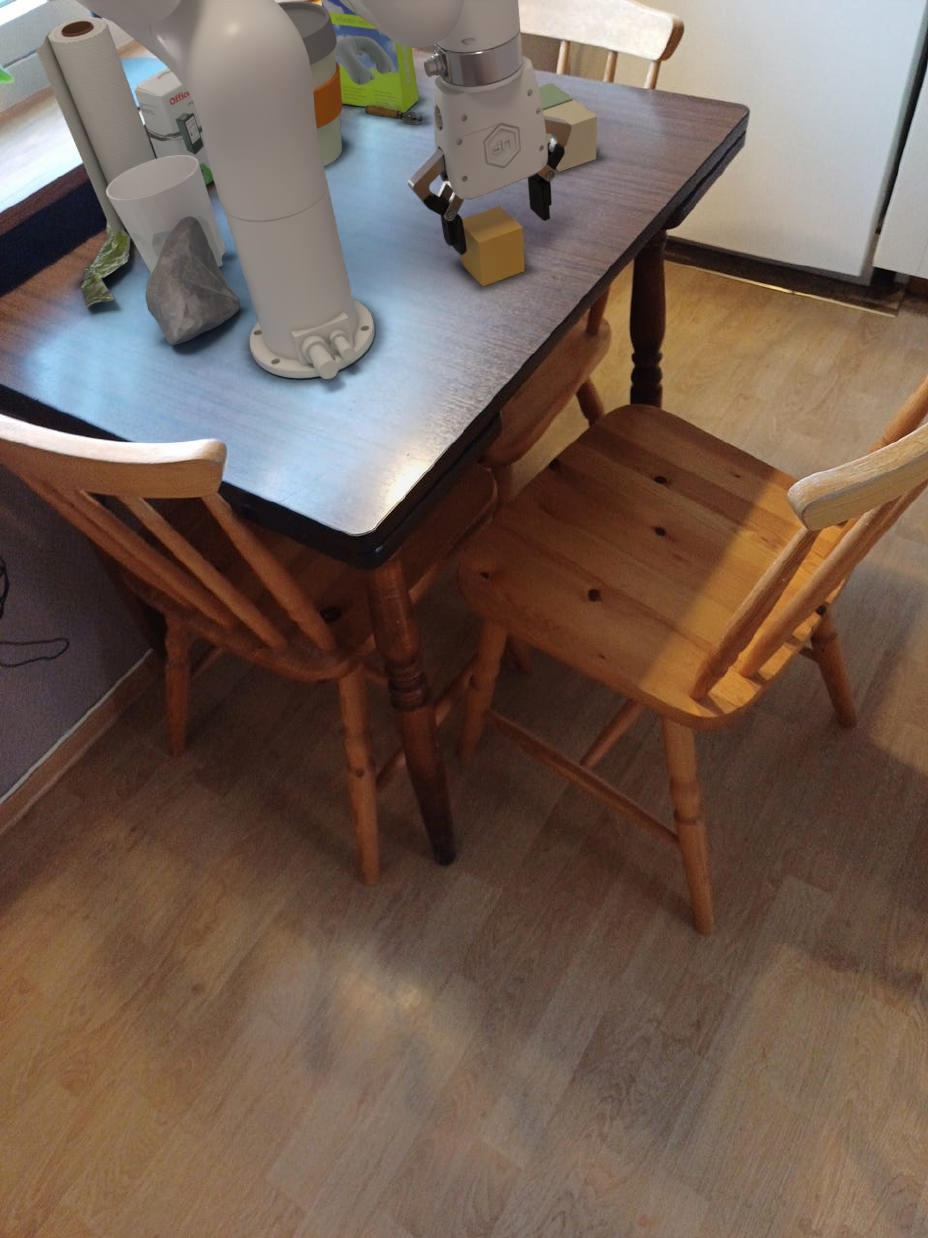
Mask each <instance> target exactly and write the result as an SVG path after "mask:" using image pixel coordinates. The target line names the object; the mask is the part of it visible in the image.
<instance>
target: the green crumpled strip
mask: <svg viewBox="0 0 928 1238" xmlns="http://www.w3.org/2000/svg"><path fill="white" fill-rule="evenodd" d="M121 224H122V223H121ZM105 229H106V237H105V238H106V239H105V242H104V243H103V245H102V247H100V250H99V251H98V253H97V255H96V258H94V259H95V260H94V261H93V263H92V264H91V265H90V266H86V267H85V269H84V270H83V274H82V277H81V280H80V281H79V284H80V286H81V287H80V288H81V291H82V297H83V300H84V304H85V308H86V309H88V308H89V307H91V306H92V305H94V304H97V303H100V302H101V303H102V302H103V303H108V302H111V301H116V299H115V297H114V296H113V295H112V293H111V290H110V289H108V287H107V285H106V284H105V282H104V281H103V278H105V277H107V276H109V275H110V274H112V273H113V272H115V271H116V270H117V269H119V268H120V267H121V266H123V265H125V264H126V263H127V262H128V260H129V258H130V257H129V256H130V254H129V253H130V248H131V247H130V246H131V244H130V243H131V239H132V238H131V236H130V234H128V232H127V231H125V230H126V229H125V230H124V229H123V228H122V225H121V226H120V229H119V231H118V234H117V236H116V238H115V237H114V235H113V233H112V230H111V228H110V225H109V223H108V221H107V220H106V228H105Z"/></svg>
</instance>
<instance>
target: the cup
mask: <svg viewBox="0 0 928 1238" xmlns="http://www.w3.org/2000/svg"><path fill="white" fill-rule="evenodd" d="M106 194H107V196H108V198H109V200H110V202H111V203H112V205H113V207H114V208H115V210H116V212H117V214H118V215H119V217H120V219H121V221H122V222H123V224H124V226H125V230H126V232H127V234H128V235H129V236H131V238H130V239H132V241H133V243H134V245H135V247H136V249H137V250H138V252H139V255H141V258H142V259H143V261H144V263H145V265H146V267H147V268H148V270H149V272H150V275H151V274H152V272H153V270H154V268H155V267H156V264H157V261H158V258H159V255H160V253H161V250H162V248H163V245H164V243H165V241H166V239H167V237H168V236H169V234H170V233H171V231H172V230H173V229H174V228H175V226H176V225H177V224H178V223H179V222H180V220H181V219H183V218H185V217H189V216H190V217H194V218H196V219H197V220H198V221H199V223H200V224H201V227H202V229H203V231H204V233H205V235H206V237H207V241H208V244H209V246H210V248H211V250H212V252H213V254H214V257H215V260H216V263H217V265H218V267H219V268H220V267H221V266H224V263H223V259H222V258H223V256H224V254H225V253H226V252H227V249H226V245H225V242H224V240H223V237H222V234H221V231H220V228H219V225H218V221H217V218H216V214H215V212H214V209H213V206H212V202H211V200H210V196H209V193H208V189H207V185H205V182H204V179H203V175H202V172H201V169H200V165H199V162H198V160H197V159H196V158H194V157H193V156H187V155H174V156H167V157H162V158H158V159H157V158H156V159H154V160H151V161H148V162H145V163H142V164H140V165H138V166H136V167H133V168H131V169H129V170H128V171H126V172H124V173H122V174H121V175H119V176H118V177H117V178H115V179H114V180H113V181H112V182H111V183H110V184H109V185H108V187H107V189H106Z"/></svg>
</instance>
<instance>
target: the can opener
mask: <svg viewBox="0 0 928 1238" xmlns="http://www.w3.org/2000/svg"><path fill="white" fill-rule="evenodd" d="M364 112H365V114H367V115H371V116H377V117H382V118H383V117H384V118H391V119H396V120H401V119H402V122H403V123H404V124H405V125H412V126H415V125H422V124H423V120H424V119H423V116H422V115H421V114H416V112H415V111H409V112H408V111H407V112H405V113H403V112H400V111H397V110H390V109H386V108H383V107H378V106H371V105H367V106H366V107H365V109H364ZM418 118H419V121H417V120H418Z"/></svg>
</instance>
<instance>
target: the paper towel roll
mask: <svg viewBox="0 0 928 1238" xmlns="http://www.w3.org/2000/svg"><path fill="white" fill-rule="evenodd" d="M35 51H36V54H37V56H38V59H39V61H40V63H41V66H42V68H43V70H44V71H43V72H44V73H45V77H46V78H47V81H48V82H49V85H50V87H51V90H52V92H53V94H54V97H55V99H56V101H57V105H58V106H59V109H60V112H61V113H62V116H63V118H64V121H65V123H66V126H67V128H68V130H69V132H70V135H71V137H72V139H73V142H74V145H75V147H76V149H77V151H78V154H79V157H80V159H81V161H82V164H83V166H84V168H85V171H86V173H87V176H88V177H89V180H90V182H91V185H92V188H93V190H94V192H95V194H96V197H97V199H98V202H99V204H100V206H101V208H102V211H103V214H104V216H105V218H106V222H107V221H108V223H109V225H110V228H111V230H112V233H113V235H114V237H115V238H116V236H117V234H118V231H119V229H120V226H121V225H122V228H123V229H124V230H126V228H125V226H124V224H123V222H122V221H121V219H120V217H119V215H118V214H117V212H116V210H115V208H114V207H113V205H112V203H111V202H110V200H109V198H108V196H107V194H106V189H107V187H108V185H109V184H110V183H111V182H112V181H113V180H114V179H115V178H117V177H118V176H119V175H121V174H122V173H124V172H126V171H128V170H129V169H131V168H133V167H136V166H138V165H140V164H142V163H145V162H148V161H151V160H154V159H157V157H156V155H155V152H154V149H153V148H152V147H153V146H152V143H151V141H150V139H149V136H148V132H147V129H146V128H145V125H144V122H143V120H142V115H141V114H140V112H139V107H138V105H137V102H136V100H135V97H134V94H133V92H132V88H131V86H130V83H129V80H128V77H127V75H126V72H125V69H124V65H123V63H122V61H121V58H120V55H119V52H118V49H117V46H116V44H115V41H114V38H113V35H112V33H111V29H110V27H109V25H108V22H106V19H104V18H101V17H89V16H88V17H81V18H75V19H72V20H68V21H65V22H63V23H61V24H59V25H57V26H55V27H54V28H53V29H52V30H50V31H49V32H48V33H47V34H46V35H45V36H44V39H43V42H42V43H41V45H40V46H39V47H38V48H37V49H35ZM121 223H122V224H121Z"/></svg>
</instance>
